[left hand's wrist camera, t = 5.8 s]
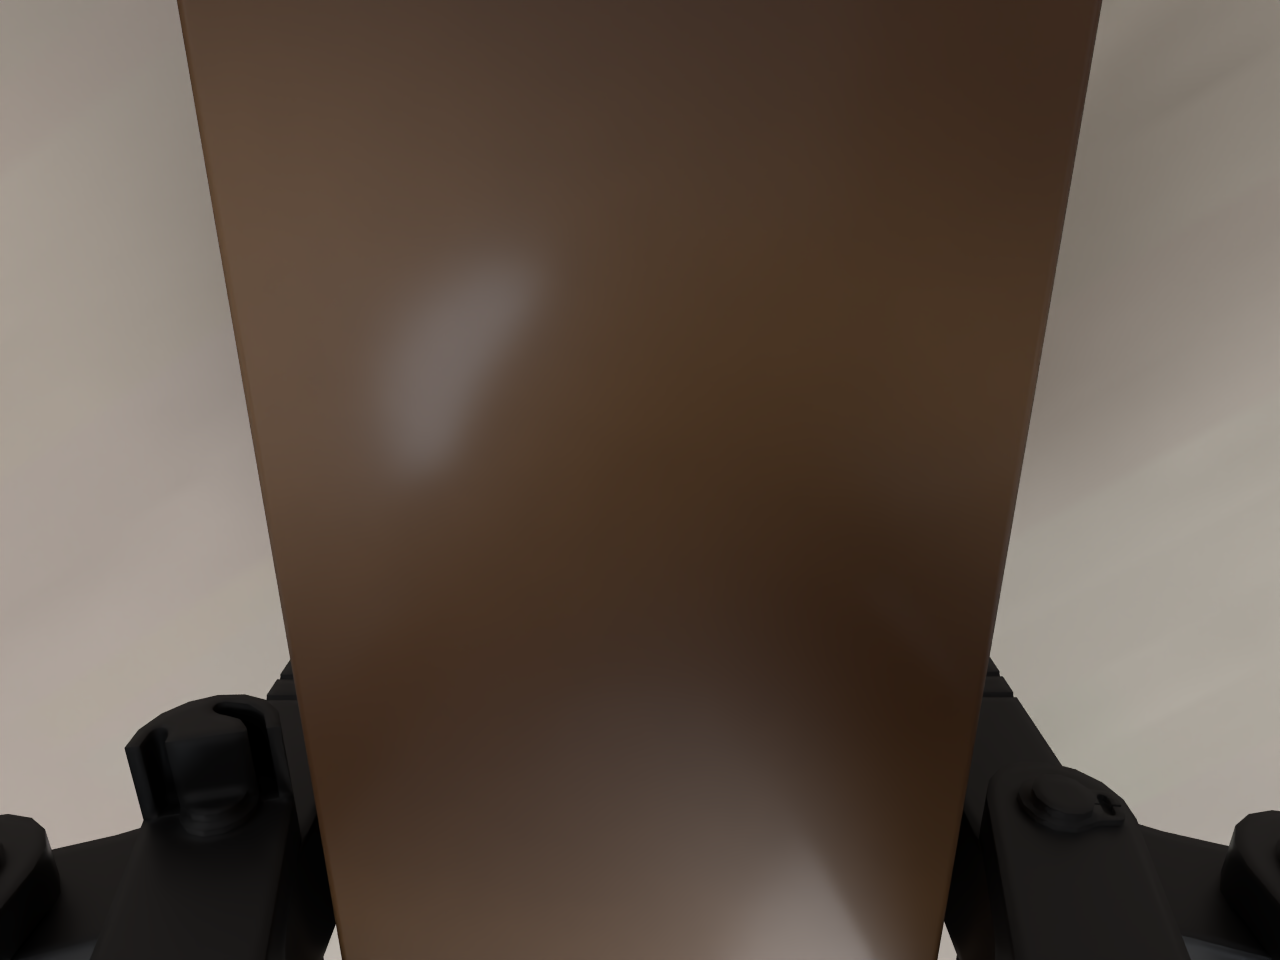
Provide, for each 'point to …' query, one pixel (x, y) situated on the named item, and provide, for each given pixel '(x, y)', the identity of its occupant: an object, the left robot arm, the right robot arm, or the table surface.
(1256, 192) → the table surface
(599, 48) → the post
